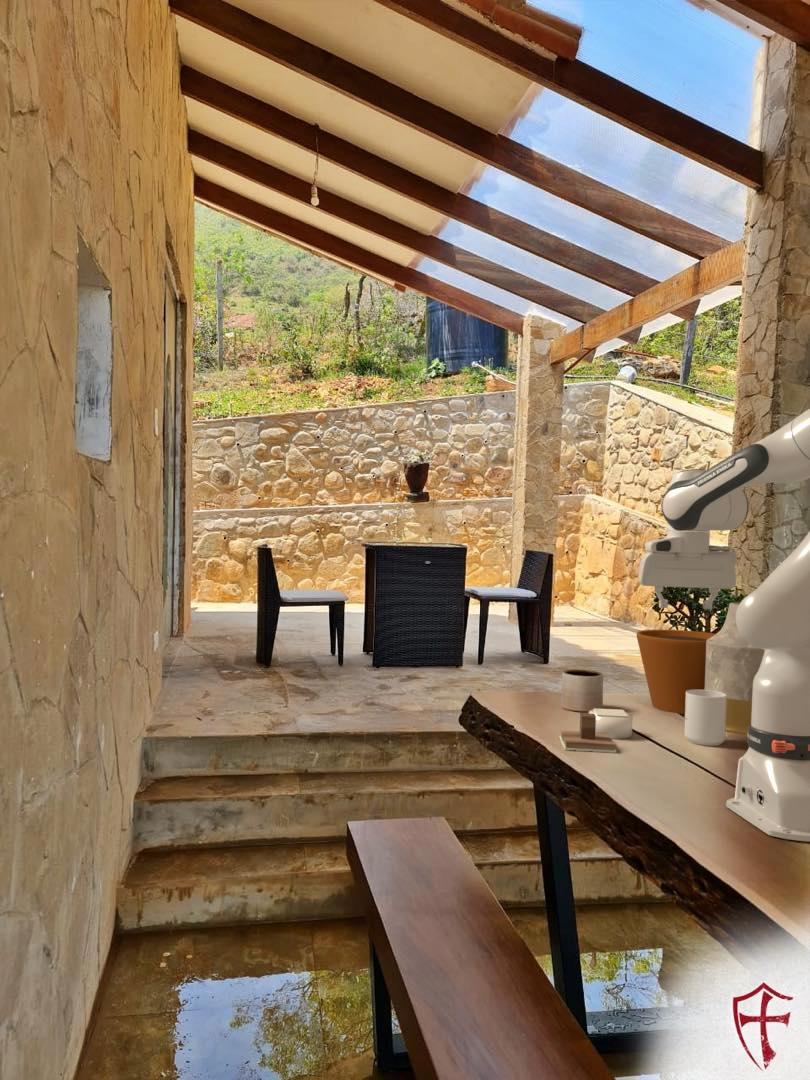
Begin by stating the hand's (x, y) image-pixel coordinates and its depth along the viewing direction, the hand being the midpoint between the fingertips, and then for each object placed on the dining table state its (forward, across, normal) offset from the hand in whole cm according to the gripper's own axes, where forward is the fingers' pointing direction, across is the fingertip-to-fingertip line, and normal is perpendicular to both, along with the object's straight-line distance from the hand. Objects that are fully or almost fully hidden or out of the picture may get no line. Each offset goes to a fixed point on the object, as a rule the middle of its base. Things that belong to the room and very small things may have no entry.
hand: (685, 608), depth 185 cm
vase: (+31, -22, -28) cm, 47 cm away
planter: (+31, +16, -40) cm, 53 cm away
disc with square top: (+31, +13, -13) cm, 36 cm away
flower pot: (+31, -11, -46) cm, 57 cm away
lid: (+31, +20, -1) cm, 37 cm away
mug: (+31, -8, -11) cm, 34 cm away
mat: (+31, +20, -1) cm, 37 cm away
